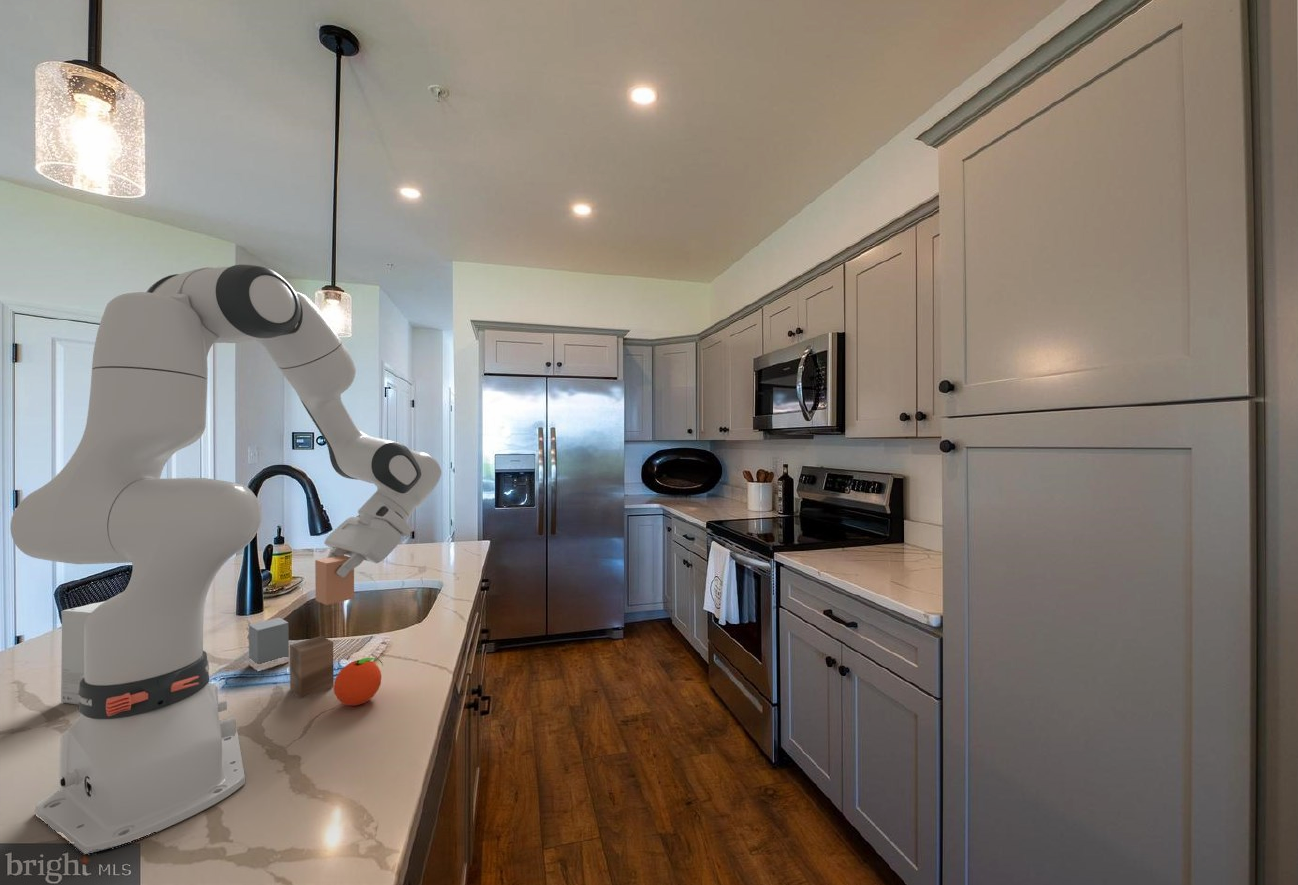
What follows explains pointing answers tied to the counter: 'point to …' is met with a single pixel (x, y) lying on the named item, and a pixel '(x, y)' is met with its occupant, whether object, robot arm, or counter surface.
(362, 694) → the clementine
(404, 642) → the counter surface
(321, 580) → the terracotta block
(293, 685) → the walnut block
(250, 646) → the slate-grey block
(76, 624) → the skincare box
